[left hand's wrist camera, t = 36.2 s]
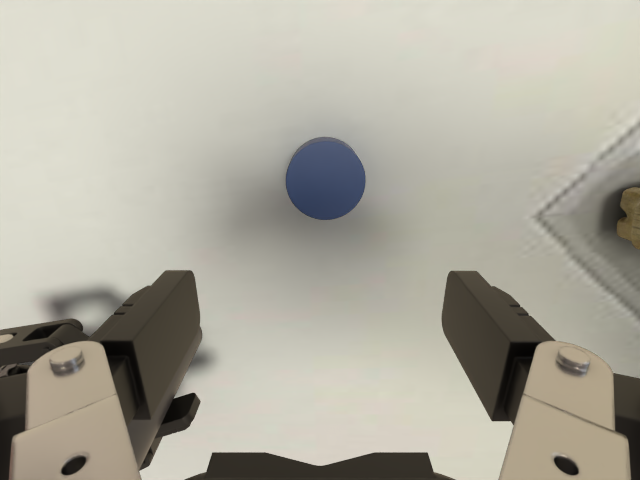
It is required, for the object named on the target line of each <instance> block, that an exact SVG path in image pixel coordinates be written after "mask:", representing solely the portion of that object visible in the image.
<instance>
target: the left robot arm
mask: <svg viewBox="0 0 640 480" xmlns="http://www.w3.org/2000/svg"><path fill="white" fill-rule="evenodd" d="M122 305H123V306H120V307H119V308H118V309H117V310H116V311H115V313H114V315H112V316H111V317H110V318H109V319H108V320H107V321H106V322H105V323H104V324H103V325H102V326H101V327H100V328H99V329H98V330H97V331H96V332H95V333H94V334H93V335H92V336H91V337H90V338H89V339H88V340H87V341H80V342H74V343H70V344H66V345H63V346H61V347H58V348H56V349H53V350H51V351H50V352H48V353H46V354H44V355H43V356H41V357H40V358H39V359H37V360H36V361H35V362H34V363H33V364H32V365H31V366H30V368H29V370H28V372H27V373H23V374H18V375H13V376H8V377H3V378H0V480H141V476H140V472H139V469H138V465H137V462H136V458H135V455H134V451H133V448H132V444H131V441H130V437H129V434H128V430H127V427H128V426H129V424H130V422H131V421H132V420H151V419H152V417H153V415H154V413H155V411H156V409H157V408H158V406H159V404H160V402H161V400H162V398H163V396H164V394H165V393H166V391H167V389H168V387H169V385H170V383H171V381H172V380H173V378H174V376H175V374H176V372H177V370H178V368H179V367H180V365H181V363H182V361H183V359H184V357H185V355H186V354H187V352H188V350H189V348H190V346H191V344H192V342H193V341H194V339H195V337H196V335H197V333H198V330H199V325H200V311H199V304H198V297H197V290H196V283H195V277H194V274H193V272H192V271H191V270H166V271H165V272H164V273H163V274H162V275H161V276H160V277H159V278H158V279H157V280H156V281H155V282H154V283H153V284H152V285H151V286H147V287H145V288H143V289H141V290H139V291H138V292H136V293H134V294H132V295H131V296H130V297H129V298H128V299H127V300H126V301H125V302H124V303H123V304H122ZM442 327H443V331H444V334H445V336H446V338H447V340H448V341H449V343H450V345H451V347H452V349H453V351H454V352H455V354H456V356H457V358H458V360H459V362H460V363H461V365H462V367H463V369H464V371H465V373H466V374H467V376H468V378H469V380H470V382H471V384H472V385H473V387H474V389H475V391H476V393H477V395H478V396H479V398H480V400H481V402H482V404H483V406H484V408H485V409H486V411H487V413H488V415H489V417H490V419H491V420H492V421H511V422H512V424H513V425H514V427H513V430H512V434H511V437H510V441H509V444H508V448H507V451H506V455H505V458H504V462H503V465H502V469H501V472H500V476H499V480H640V379H639V378H634V377H629V376H624V375H620V374H615V373H613V372H612V370H611V368H610V366H609V365H608V364H607V363H606V362H605V361H604V360H603V359H601V358H600V357H599V356H597V355H596V354H594V353H592V352H590V351H589V350H587V349H584V348H582V347H579V346H577V345H574V344H570V343H566V342H560V341H555V340H554V339H553V338H552V337H551V336H550V335H549V334H548V333H547V332H546V331H545V330H544V329H543V328H542V327H541V326H540V325H539V324H538V323H537V322H536V321H535V320H534V319H533V318H532V317H531V316H529V315H528V313H527V312H526V311H525V310H524V309H523V308H522V307H520V305H519V304H518V303H517V302H516V301H515V300H514V299H513V298H512V297H511V296H510V295H509V294H507V293H505V292H504V291H502V290H500V289H498V288H496V287H495V286H490V285H489V284H488V282H487V281H486V280H485V279H484V278H483V277H482V276H481V275H480V274H479V273H478V272H477V271H450V273H449V274H448V277H447V283H446V290H445V297H444V303H443V310H442ZM185 480H455V479H453V478H450V477H447V476H444V475H442V474H438V473H435V472H433V469H432V465H431V462H430V459H429V456H428V453H371V454H367V455H363V456H360V457H356V458H352V459H348V460H344V461H340V462H336V463H333V464H329V465H324V466H316V465H311V464H307V463H304V462H300V461H296V460H292V459H288V458H284V457H280V456H277V455H273V454H269V453H212V456H211V459H210V462H209V465H208V469H207V472H205V473H202V474H198V475H196V476H193V477H190V478H187V479H185Z"/></svg>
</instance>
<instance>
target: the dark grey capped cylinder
mask: <svg viewBox="0 0 640 480" xmlns="http://www.w3.org/2000/svg"><path fill="white" fill-rule="evenodd" d="M201 339H202V332H201V328H200V326H199V330H198V333H197V335H196V337H195V339H194V341H193V342H192V344H191V346H190V348H189V350H188V352H187V354H186V355H185V357H184V359H183V361H182V363H181V365H180V367H179V368H178V370H177V372H176V374H175V376H174V378H173V380H172V381H171V383H170V385H169V387H168V389H167V391H166V393H165V394H164V396H163V398H162V400H161V402H160V404H159V406H158V408H157V409H156V411H155V413H154V415H153V417H152V419H151V420H132V421H131V422H130V424H129V426H128V427H127V430H128V434H129V437H130V441H131V444H132V448H133V451H134V455H135V458H136V462H137V465H138V469H140V467H141V465H142V463H143V461H144V459H145V457H146V455H147V452H148V450H149V448H150V446H151V444H152V442H153V440H154V438H155V436H156V434H157V432H158V430H159V428H160V425H161V423H162V421H163V419H164V417H165V415H166V413H167V411H168V409H169V407H170V405H171V403H172V400H173V398H174V396H175V394H176V392H177V390H178V388H179V386H180V384H181V382H182V380H183V378H184V376H185V373H186V371H187V369H188V367H189V365H190V363H191V361H192V359H193V357H194V355H195V353H196V351H197V348H198V346H199V344H200V342H201Z"/></svg>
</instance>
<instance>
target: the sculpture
mask: <svg viewBox="0 0 640 480" xmlns="http://www.w3.org/2000/svg"><path fill="white" fill-rule="evenodd" d="M620 207H621V208H622V209H623V210H624V211H625V212H626V214H627V217H622V218H621V219H619V220H618V223H617V234H618V236H619V237H622V238H624V239H627V240H630V241H632V244H633V246H634V247H635V248H637V249H639V250H640V188H638V187H632V188H629V189H626V190H625V191H624V192H623V194H622V199H621V203H620Z"/></svg>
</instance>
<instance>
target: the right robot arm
mask: <svg viewBox="0 0 640 480" xmlns="http://www.w3.org/2000/svg"><path fill="white" fill-rule="evenodd" d="M82 330H83V326H82V324H81V323H80V322H79V321H78V320H75V319H66V320H60V321H53V322H47V323H41V324H34V325H28V326H22V327H15V328H9V329H3V330H0V378H3V377H8V376H13V375H18V374H23V373H27V372H28V370H29V368H30V366H29V365H18V364H19V363H24V362H31V361H36V360H37V359H39V358H40V357H41V356H43V355H44V354H46V353H48V352H50V351H51V350H53V349H56V348H58V347H61V346H63V345H66V344H70V343H74V342H80V341H87V340H88V339H89V338H90V337H88V336H87V335H85V334H84V333H83V332H82ZM199 404H200V400H199V398H198V397H197V395H196V394H195V393H190V394H187V395H184V396H181V397H178V398H175V399H173V400H172V403H171V405H170V407H169V409H168V411H167V413H166V415H165V417H164V419H163V421H162V423H161V425H160V428H159V430H158V432H157V434H156V436H155V438H154V440H153V442H152V444H151V446H150V448H149V450H148V452H147V455H146V457H145V459H144V461H143V463H142V465H141V467H140V469H139V471H140V470H142V469H144V468H146V467H148V466H149V465H150V463H151V461H152V459H153V457H154V454H155V452H156V450H157V448H158V446H159V443H160V441H161V439H162V437H163V436H166V435H169V434H172V433H176V432H179V431H183V430H185V429H187V428H188V427H189V426H190V424H191V422H192V421H193V419H194V417H195V415H196V412H197V410H198V407H199Z"/></svg>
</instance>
